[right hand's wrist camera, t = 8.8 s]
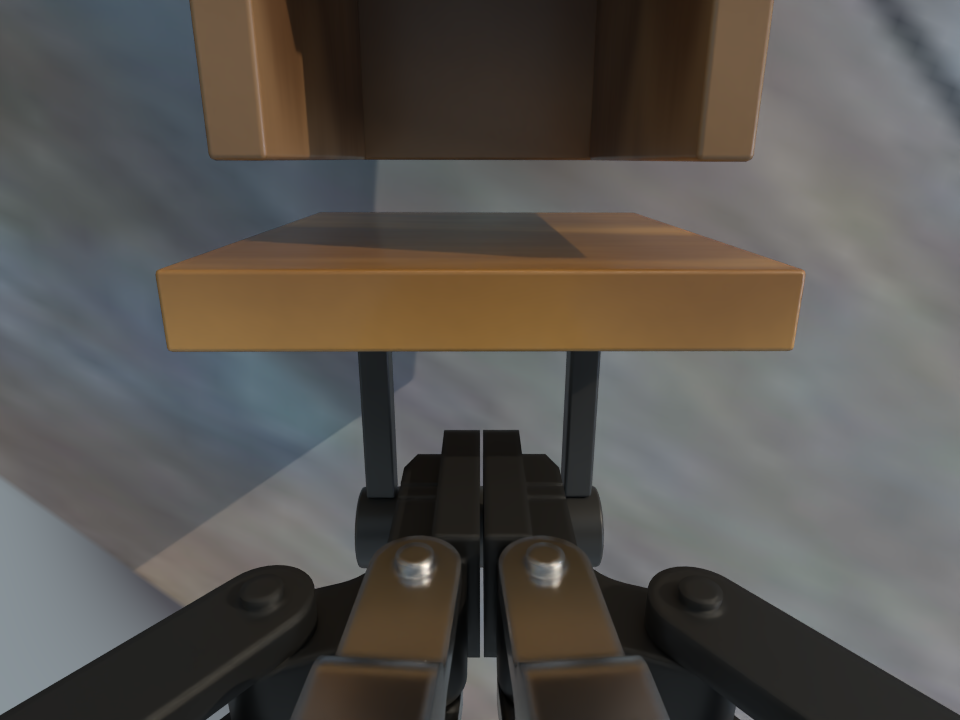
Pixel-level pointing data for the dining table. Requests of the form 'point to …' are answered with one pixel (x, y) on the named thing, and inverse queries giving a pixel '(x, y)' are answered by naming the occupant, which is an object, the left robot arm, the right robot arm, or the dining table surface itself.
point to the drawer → (480, 236)
